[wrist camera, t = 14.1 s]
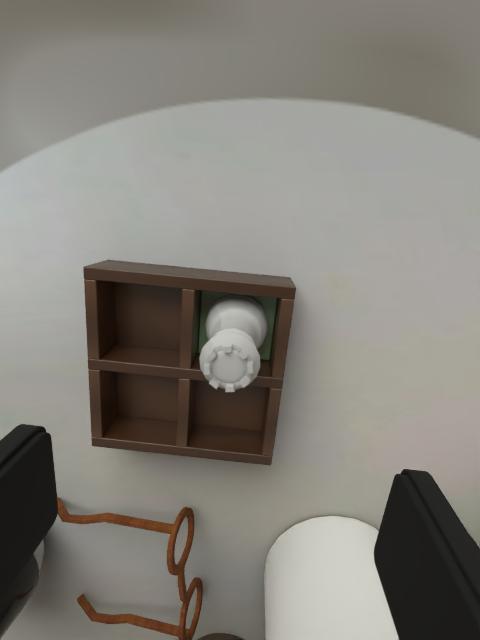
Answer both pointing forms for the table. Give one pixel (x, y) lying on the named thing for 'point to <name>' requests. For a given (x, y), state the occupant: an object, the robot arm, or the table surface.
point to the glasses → (185, 596)
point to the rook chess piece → (233, 342)
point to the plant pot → (219, 637)
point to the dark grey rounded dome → (21, 590)
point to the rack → (179, 362)
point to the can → (326, 583)
